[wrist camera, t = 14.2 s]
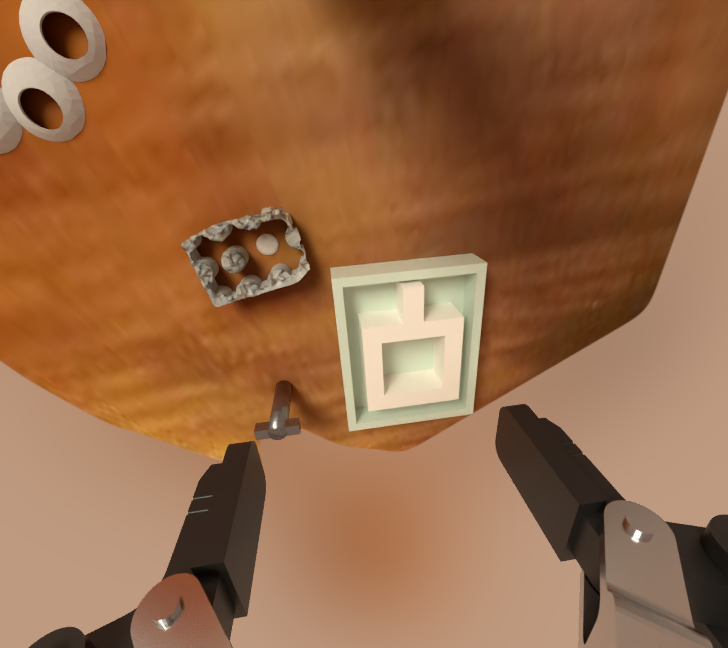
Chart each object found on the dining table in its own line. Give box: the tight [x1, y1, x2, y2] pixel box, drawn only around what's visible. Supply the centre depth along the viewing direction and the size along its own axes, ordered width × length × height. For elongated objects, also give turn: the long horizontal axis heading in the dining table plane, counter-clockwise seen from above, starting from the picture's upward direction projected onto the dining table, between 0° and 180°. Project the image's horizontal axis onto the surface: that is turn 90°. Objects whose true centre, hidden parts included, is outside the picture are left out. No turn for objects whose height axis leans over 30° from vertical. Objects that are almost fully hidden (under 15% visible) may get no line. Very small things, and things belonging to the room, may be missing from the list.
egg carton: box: [182, 207, 310, 307], centre depth 34 cm, size 11×8×4 cm
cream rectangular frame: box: [358, 279, 464, 411], centre depth 39 cm, size 15×11×4 cm
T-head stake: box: [254, 381, 301, 440], centre depth 40 cm, size 2×5×8 cm, turn 94°
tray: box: [330, 253, 487, 431], centre depth 41 cm, size 20×16×4 cm
